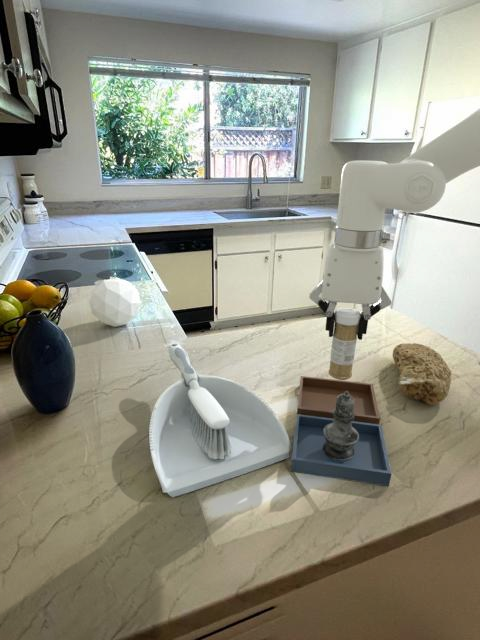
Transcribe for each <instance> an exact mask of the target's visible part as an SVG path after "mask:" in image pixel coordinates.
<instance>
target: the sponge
mask: <svg viewBox="0 0 480 640" xmlns="http://www.w3.org/2000/svg"><path fill="white" fill-rule="evenodd" d="M391 356H392V359H393V361H394V364H395V367H396V368H397V370H398V372H399V377H398V387H399V389H400V391H401V392H402V394H403V395H404V396H407V397H408V398H411V399H414V400H418V401H421V400H422V402H425V403H426V404H427V405H429V406H433V405H434V406H435V405H439V404H440V403H441V402H443V401H444V400H445V399H446V398H447V397H448V395H449V392H450V389H451V384H452V370H451V369H450V367H449V365H448V364H447V362H446V361H445V360H444V358H443V357H442V355H441V354H440V353H439V352H438V351H436V350H434V348H433V349H432V348H431V347H429V346H427V345H424V344H421V343H414V342H413V343H410V342H409V343H399V344H397V345H396V346H395V347H394V348H393V350H392V355H391Z"/></svg>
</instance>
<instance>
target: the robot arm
mask: <svg viewBox="0 0 480 640" xmlns="http://www.w3.org/2000/svg"><path fill="white" fill-rule="evenodd" d="M478 167H480V108H478V109H477V110H476V111H474V112H473V113H471V114H470V115H469V116H467V117H466V118H464V119H463V120H461V121H460V122H458V123H457V124H456V125H454V126H452V127H451V128H449V129H448V130H446V131H445V132H443V133H442V134H440V135H439V136H437V137H435V138H434V139H433V140H430V141H429V142H428V143H427V144H425V145H424V146H422V147H421V148H419V149H418V150H416V151H414V152H413V153H411V154H410V155H408V156H407V157H406V158H404V159H403V160H402V161H400V162H395V163H389V162H386V161H382V160H359V159H358V160H350V161H347V162H346V163H345V164H344V166H343V167H342V170H341V177H340V185H339V195H338V196H339V198H338V205H337V206H338V207H337V215H336V224H335V225H336V226H335V232H334V242H331V243H329V246H328V248H327V253H326V256H325V261H324V268H323V273H322V280H321V281H320V282H319V283H318V284H317V285H316V286H315V287H314V288H313V290H311V292H309V299H310V300H311V301H312V302H313V303H315V304H316V305H317V306H318V308H320V309H321V310H322V311H323V313H324V314H325V316H326V319H325V331H327V332H328V338H333V334H334V326H335V311H336V307H337V305H338V303H341V304H355V305H361V310H362V311H361V312H360V322H359V325H358V330H357V339H358V340H359V341H361V340H363V335H366V334H367V332H368V324H369V321H370V320H371V318H372V317H374V316H375V315H376V314H377V313H379V312H381V310H383V309H386V308H388V307H389V306H391V305H392V303H393V302H392V300H391V298H390V296H389V295H388V293H387V292H386V290H385V288H384V286H383V277H384V260H385V259H384V247H383V246H382V244H383V242H384V243H385V242H390V241H391V232H386V231H384V230H383V225H384V221H385V220H384V219H385V213H386V209H390V210H396V211H401V212H406V213H421V212H425V211H428V210H429V209H430V210H431V208H434V207H435V206H436V205H437V204H438V203H439V202H440V201H441V199H442V198H443V196H444V194H445V190H446V185H447V184H448V183H450V182H451V181H453V180H455V179H456V178H458V177H460V176H461V175H464V174H465V173H467V172H469V171H472V170H474V169H476V168H478ZM320 295H321V296H322V297H321V296H320Z"/></svg>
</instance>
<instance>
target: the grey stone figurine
mask: <svg viewBox="0 0 480 640" xmlns="http://www.w3.org/2000/svg"><path fill="white" fill-rule="evenodd" d="M354 403H355V400H354V398H353V396H351V395H349V392H348V391H345V392H344V394H340V395H339V396H338V397H337V400H336V408H335V410H333V412H332V414H333V416H334V419H333V423H330V424H328V425H326V426H325V427H324V430H323V433H324V436H325V440H326V442H325V443H324V445H323V451H324V452H325V454H326V455H327V456H328V457H330V458H332V459H334V460H338V461H347V460H350V459H351V458H353V456H354V453H355V451H354V449H353V446H354V445H355V444H356V442H357V441H358V439H359V434H358V432H357V431H356V429H354V428H353V427H352V420H354V418H355V414H354V413H353V410H354Z"/></svg>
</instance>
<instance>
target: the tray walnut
mask: <svg viewBox="0 0 480 640" xmlns="http://www.w3.org/2000/svg"><path fill="white" fill-rule="evenodd" d="M345 391H348V392H349V395H351V396H353V398H354V400H355V403H354V410H353V413H354V414H355V418H354V420H352V421H355V422H363V423H371V424H379V425H380V421H381V416H380V411H379V406H378V402H377V396H376V392H375V386H374V383H369V382H367V383H366V382H359V381H358V382H357V381H349V380H339V379H334V378H333V379H332V378H323V377H314V376H306V375H300V379H299V388H298V398H297V405H296V406H297V407H296V415H297V414H300V415H308V416H316V417H324V418H332V419H334V416H333V414H332V412H333V410H335V408H336V400H337V397H338V396H339V395H340V394H344V392H345Z"/></svg>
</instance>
